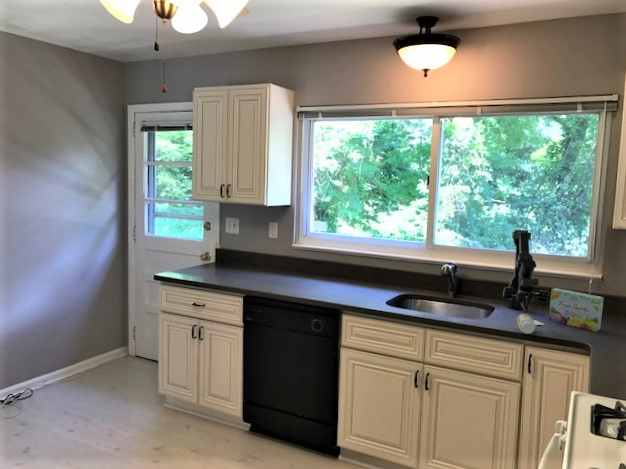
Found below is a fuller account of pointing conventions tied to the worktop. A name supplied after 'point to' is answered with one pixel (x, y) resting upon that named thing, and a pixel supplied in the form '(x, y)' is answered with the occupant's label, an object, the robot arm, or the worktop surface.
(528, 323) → the supplement bottle
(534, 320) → the cream tile
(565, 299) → the snack box
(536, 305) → the worktop surface
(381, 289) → the worktop surface
